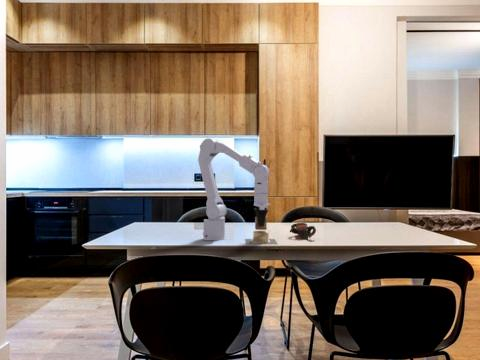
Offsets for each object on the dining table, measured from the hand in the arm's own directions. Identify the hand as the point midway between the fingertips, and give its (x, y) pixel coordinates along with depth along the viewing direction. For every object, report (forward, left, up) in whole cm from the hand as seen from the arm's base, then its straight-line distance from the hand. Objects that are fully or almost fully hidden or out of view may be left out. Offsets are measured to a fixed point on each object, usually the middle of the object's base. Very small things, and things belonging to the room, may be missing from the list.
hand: (260, 225), depth 176 cm
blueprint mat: (0, -1, -7) cm, 7 cm away
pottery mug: (+20, +9, -8) cm, 23 cm away
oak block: (0, 0, -7) cm, 7 cm away
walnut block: (0, 0, -2) cm, 2 cm away
